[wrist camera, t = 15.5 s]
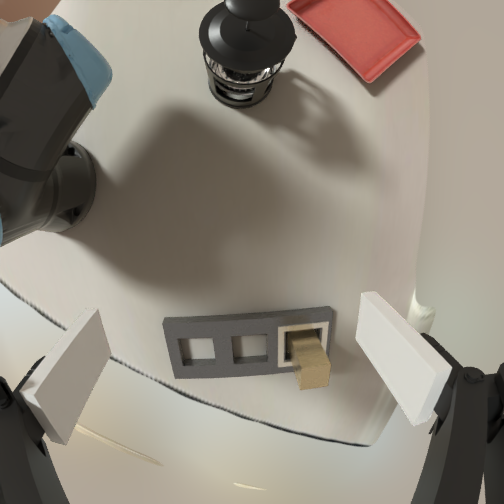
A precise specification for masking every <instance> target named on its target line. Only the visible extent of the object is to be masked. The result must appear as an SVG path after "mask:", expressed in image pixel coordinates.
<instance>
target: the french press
mask: <svg viewBox="0 0 504 504" xmlns="http://www.w3.org/2000/svg"><path fill="white" fill-rule="evenodd" d="M279 7H280V0H224V2H222V3H220V4H218V5H216V6H215V7H213V8H212V9H211V10H210V11H209V12H208V13H207V14H206V15H205V17H204V18H203V20H202V22H201V25H200V28H199V39H200V43H201V46H202V48H203V56H204V60H205V65H206V69H207V73H208V84H209V89H210V91H211V93H212V95H213V96H214V97H215V98H216V99H217V100H218V101H219V102H220V103H222V104H224V105H226V106H229V107H232V108H249V107H252V106H255V105H257V104H259V103H260V102H262V101H263V100H264V99H265V98H266V97H267V95H268V94H269V92H270V90H271V88H272V83H273V79H274V77H275V76H276V75H277V73H278V72H279V71H280V69H281V67H282V65H283V63H284V61H285V58H286V56H287V55H288V54H289V53H290V51H291V49H292V47H293V45H294V42H295V40H296V39H297V36H296V34H295V29H294V26H293V23H292V21H291V20H290V18H289V16H288V15H287V14H286V13H285V12H284V11H283V10H282V9H281V8H279ZM206 54H207V55H208V56H209V58H210V61H209V65H208V63H207V61H206ZM280 62H281V65H280V67H279V68H278V70H277V71H276V72H275V70H276V64H278V63H280ZM219 88H221V89H222V90H224V91H226V92H228V93H231V94H236V95H249V94H253V96H252V97H251V98H248V99H243V100H238V99H233V98H230V97H228V96H226V95H225V94H224V93H223V92H222V91H221V90H220V89H219Z"/></svg>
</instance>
